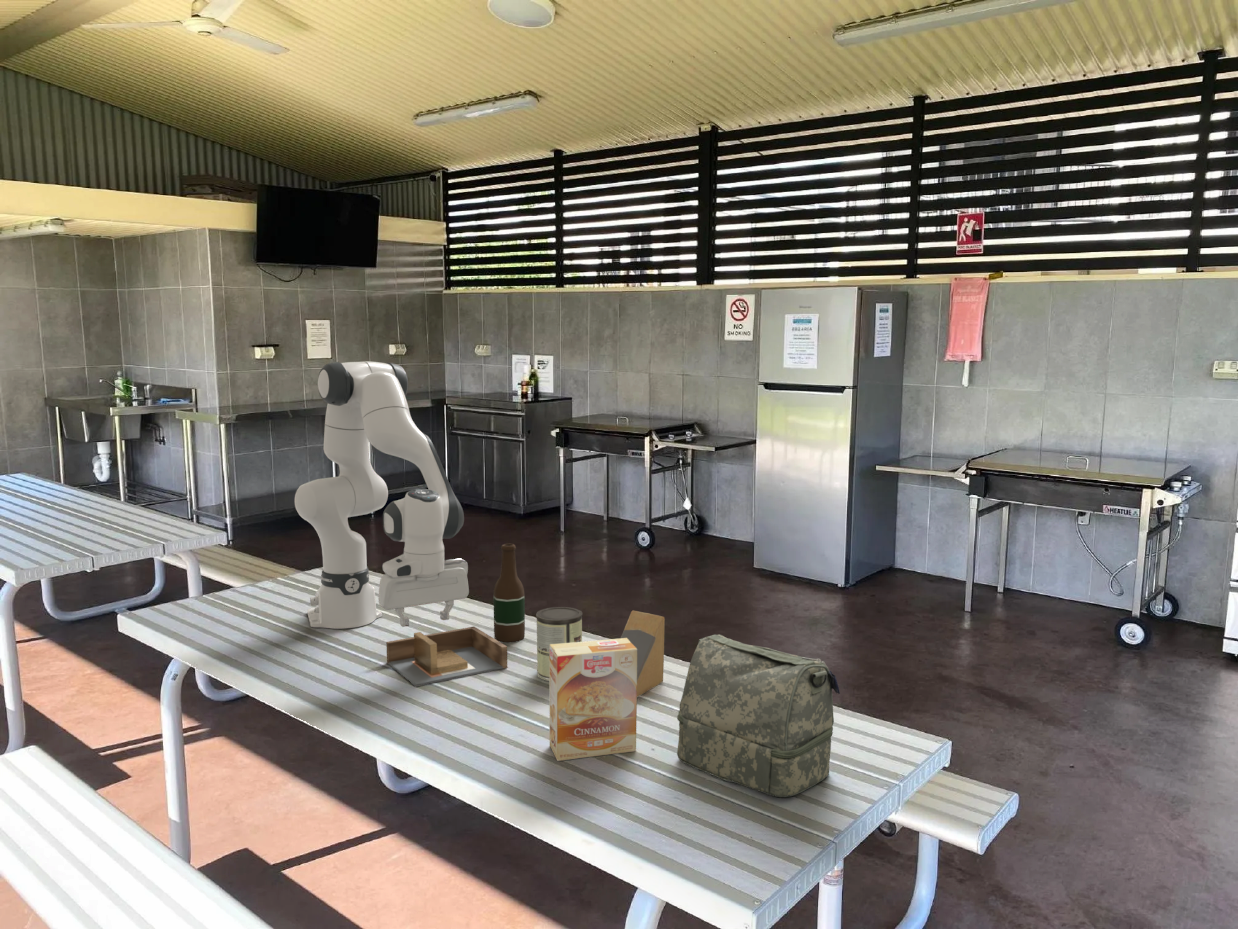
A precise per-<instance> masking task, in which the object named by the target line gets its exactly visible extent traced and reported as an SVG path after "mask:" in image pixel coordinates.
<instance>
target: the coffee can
mask: <svg viewBox="0 0 1238 929" xmlns="http://www.w3.org/2000/svg"><path fill="white" fill-rule="evenodd" d="M535 616H536V617H535V618H536V649H537V650H536V652H537V653H536V660H537V665H536V666H537V671H536V674H537V677H538V679H540V680H543V681H547V682H549V677H550V662H549V646H550V644H560V643H572V642H583V612H582V610H581V609H578V608H575V607H568V606H567V607H566V606H552V607H547V608H543V609H540V610H538V611H537V612H536V614H535Z"/></svg>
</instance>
